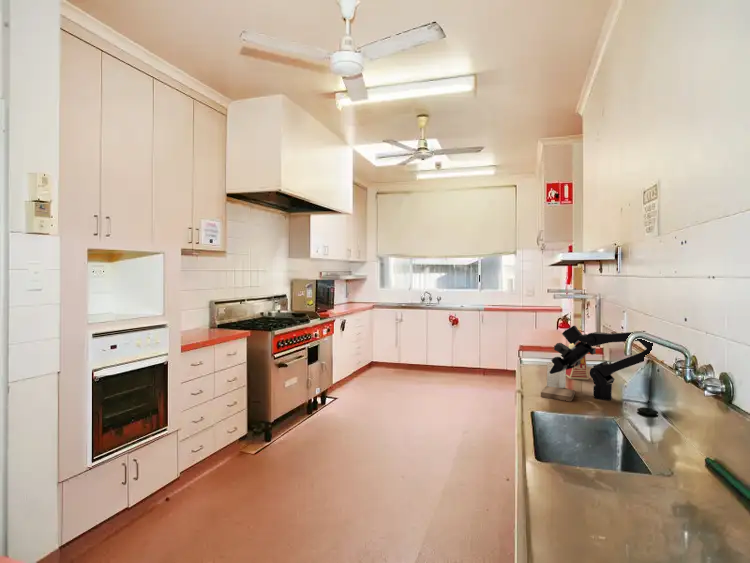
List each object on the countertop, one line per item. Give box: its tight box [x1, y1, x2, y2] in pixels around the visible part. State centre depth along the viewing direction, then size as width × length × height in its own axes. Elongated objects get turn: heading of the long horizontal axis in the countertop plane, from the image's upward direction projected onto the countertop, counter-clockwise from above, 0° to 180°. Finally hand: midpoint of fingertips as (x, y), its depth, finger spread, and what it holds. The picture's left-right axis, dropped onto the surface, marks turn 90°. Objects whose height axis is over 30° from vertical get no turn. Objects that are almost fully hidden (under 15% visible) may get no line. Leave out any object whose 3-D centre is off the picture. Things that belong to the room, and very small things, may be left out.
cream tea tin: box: [546, 361, 567, 389], centre depth 206 cm, size 6×6×11 cm
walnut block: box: [540, 385, 576, 402], centre depth 192 cm, size 12×12×2 cm
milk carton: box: [566, 341, 589, 380], centre depth 228 cm, size 9×9×20 cm
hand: (553, 372), depth 207 cm, fingers closed on cream tea tin, 6 cm apart
